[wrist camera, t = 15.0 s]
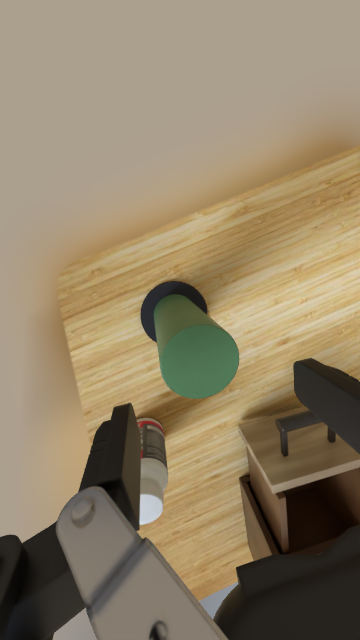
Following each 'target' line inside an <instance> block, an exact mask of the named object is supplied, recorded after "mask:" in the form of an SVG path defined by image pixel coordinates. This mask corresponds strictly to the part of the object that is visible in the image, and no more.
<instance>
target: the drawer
mask: <svg viewBox="0 0 360 640" xmlns="http://www.w3.org/2000/svg"><path fill="white" fill-rule="evenodd" d="M238 431H239V433H240V435H241V437H242V439H243V440H244V442H245V444H246V448H247V456H248V464H249V472H250V480H251V489H252V495H253V497H254V499H255V502H256V504H257V506H258V508H259V510H260V513H261V515H262V517H263V519H264V521H265V524H266V526H267V528H268V530H269V532H270V535H271V537H272V539H273V541H274V543H275V546H276V548H277V550H278V552H279V554H289V553H292V552H295V551H298V550H301V549H304V548H307V547H310V546H313V545H316V544H319V543H322V542H325V541H328V540H331V539H334V538H337V537H340V536H341V535H342V534H343V533H344V532H345V531H346V530H347V529H348V528H351V527H354V526H356V525H359V524H360V454H358V453H357V452H356V451H355V450H354V449H353V448H352V447H351V446H349V445H348V444H347V443H346V442H345V441H344V440H343V439H342V438H340V437H339V436H338V435H337V434H336V433H335V432H334V431H333V430H331V429H330V428H329V427H328V426H327V425H326V424H325V423H324V422H322V421H321V420H320V419H319V418H318V417H317V416H316V415H315V414H313V413H312V412H311V411H310V410H309V409H308V408H307V407H306V406H304V407H301V408H297V409H293V410H290V411H286V412H282V413H279V414H275V415H271V416H268V417H264V418H260V419H257V420H253V421H249V422H246V423H242V424H238Z"/></svg>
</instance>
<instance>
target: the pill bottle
mask: <svg viewBox="0 0 360 640" xmlns="http://www.w3.org/2000/svg"><path fill="white" fill-rule="evenodd" d="M137 424H138V427H139V431H140V436H141V480H140V525H141V524H147V523H150V522H152V521H154V520H156V519H157V518H158V517H159V516H160V515H161V513H162V511H163V492H164V490H165V488H166V486H167V483H168V470H167V460H166V450H165V438H164V430H163V427H162V425H161V424H160V423H159V422H158V421H156V420H154V419H151V418H141V419H137Z"/></svg>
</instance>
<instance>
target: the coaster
mask: <svg viewBox="0 0 360 640" xmlns="http://www.w3.org/2000/svg"><path fill="white" fill-rule="evenodd" d="M172 294H179V295H183V296H185V297H187V298H188V299H189V300H190V301H191V302H193V303H194V304H195V305H196V306H197V307H198V308H200V309H201V310H202V311H203V312H204V313H205V314H207V307H206V303H205V300H204V299H203V297H202V295H201V294H200V293H199V292H198V291H197V290H196V289H195V288H194V287H192V286H190V285H188V284H186V283H183V282H177V281H172V282H166V283H163V284H160V285H158V286H157V287H155V288H154V289H153V290H151V291H150V292H149V294H148V295H147V296H146V298H145V300H144V302H143V304H142V308H141V322H142V326H143V328H144V330H145V332H146V333H147V335H148V336H149V337H150V338H151V339H152V340H153V341H155V342H156V343H157V338H156V330H155V322H154V310H155V307H156V305H157V303H158V302H159V301H160V300H161V299H162V298H164V297H165V296H168V295H172Z"/></svg>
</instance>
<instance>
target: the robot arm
mask: <svg viewBox="0 0 360 640" xmlns="http://www.w3.org/2000/svg"><path fill="white" fill-rule="evenodd" d="M293 368H294V390H295V394H296V396H297V398H298V399H299V401H300V402H301V403H302V404H303V405H304V406H306V407H307V408H308V409H309V410H310V411H311V412H312V413H313V414H315V415H316V416H317V417H318V418H319V419H320V420H321V421H322V422H324V423H325V424H326V425H327V426H328V427H329V428H330V429H331V430H333V431H334V432H335V433H336V434H337V435H338V436H339V437H340V438H342V439H343V440H344V441H345V442H346V443H347V444H348V445H349V446H351V447H352V448H353V449H354V450H355V451H356V452H357V453H358V454H360V382H359V381H358V380H357V379H356V378H354V377H352V376H349V375H348V374H346V373H345V372H343V371H341V370H339V369H336V368H333V367H330V366H326V365H324V364H322V363H320V362H318V361H316V360H315V359H313V358H308V359H304V360H300V361H296V362H295V363H294V366H293ZM140 480H141V436H140V431H139V427H138V424H137V420H136V417H135V413H134V410H133V406H132V404H131V403H128V404H124V405H120V406H116V407H114V408H113V413H112V417H111V420H109V421H105V422H103V423H102V424H101V426H100V427H99V429H98V430H97V431H96V433H95V437H94V440H93V445H92V447H91V451H90V455H89V457H88V461H87V464H86V468H85V471H84V474H83V478H82V481H81V485H80V488H79V491H78V493H77V494H76V495H74V496H73V497H72V498H71V499H70V500H69V501H68V503H67V504H66V505H65V506H64V508H63V509H62V511H61V513H60V515H59V517H58V520H57V521H56V522H55V523H54V524H52V525H51V526H49V527H48V528H46V529H45V530H43V531H41V532H40V533H38V534H36V535H35V536H33V537H32V538H30V539H28V540H27V541H25V542H23V543H21V541H20V539H19V538H18V537H17V536H16V535H6V536H2V537H0V640H52V639H53V635H54V632H56V631H57V630H58V629H59V628H61V627H62V626H63V625H64V624H66V623H67V622H68V621H69V620H70V619H72V618H73V617H74V616H75V615H77V614H78V613H79V612H81V611H82V610H83V609H84V608H85V607H86V609H87V610H86V611H87V615H88V617H89V620H90V623H91V625H92V628H93V630H94V633H95V635H96V638H97V640H360V524H359V525H356V526H354V527H351V528H348V529H347V530H346V531H345V532H344V533H343V534H342V535H341V536H340V537H339V538H338V539H337V540H336V541H335V542H334V543H333V544H332V545H330V546H329V547H328V548H327V549H326V550H325V551H324V552H323V553H322V554H319V555H292V554H273V555H270V556H267V557H264V558H261V559H259V560H256V561H253V562H250V563H247V564H244V565H241V566H238V567H236V571H237V577H238V583H239V584H238V585H237V586H236V587H235V588H234V589H233V590H232V591H231V592H230V593H229V594H228V596H227V597H226V598H225V599H224V600H223V602H222V604H221V606H220V607H219V609H218V610H217V612H216V614H215V616H214V619H212V618H211V617H210V616H209V614H208V613H207V612H206V611H205V609H204V608H203V607H202V605H201V604H200V603H199V602H198V600H197V599H196V598H195V596H194V595H193V594H192V593H191V591H190V590H189V589H188V588H187V586H186V585H185V584H184V582H183V581H182V580H181V579H180V577H179V576H178V575H177V574H176V572H175V571H174V570H173V568H172V567H171V566H170V565H169V563H168V562H167V561H166V560H165V558H164V557H163V556H162V554H161V553H160V552H159V551H158V549H157V548H156V547H155V546H154V544H153V543H152V542H151V541H150V540H149V539H148V538H146V537H145V538H144V539H142V538H141V537H140V536H139V534H138V533H137V532H136V531H137V530H139V525H140Z"/></svg>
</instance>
